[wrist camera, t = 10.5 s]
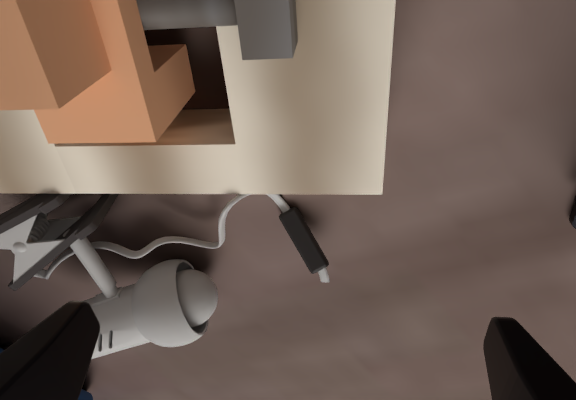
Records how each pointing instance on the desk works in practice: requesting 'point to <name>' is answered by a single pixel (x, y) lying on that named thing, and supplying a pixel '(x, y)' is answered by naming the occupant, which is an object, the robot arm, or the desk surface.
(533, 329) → the desk surface
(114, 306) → the clip-on lamp
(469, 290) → the desk surface
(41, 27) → the wooden cross piece
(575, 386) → the robot arm
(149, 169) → the beige square frame
